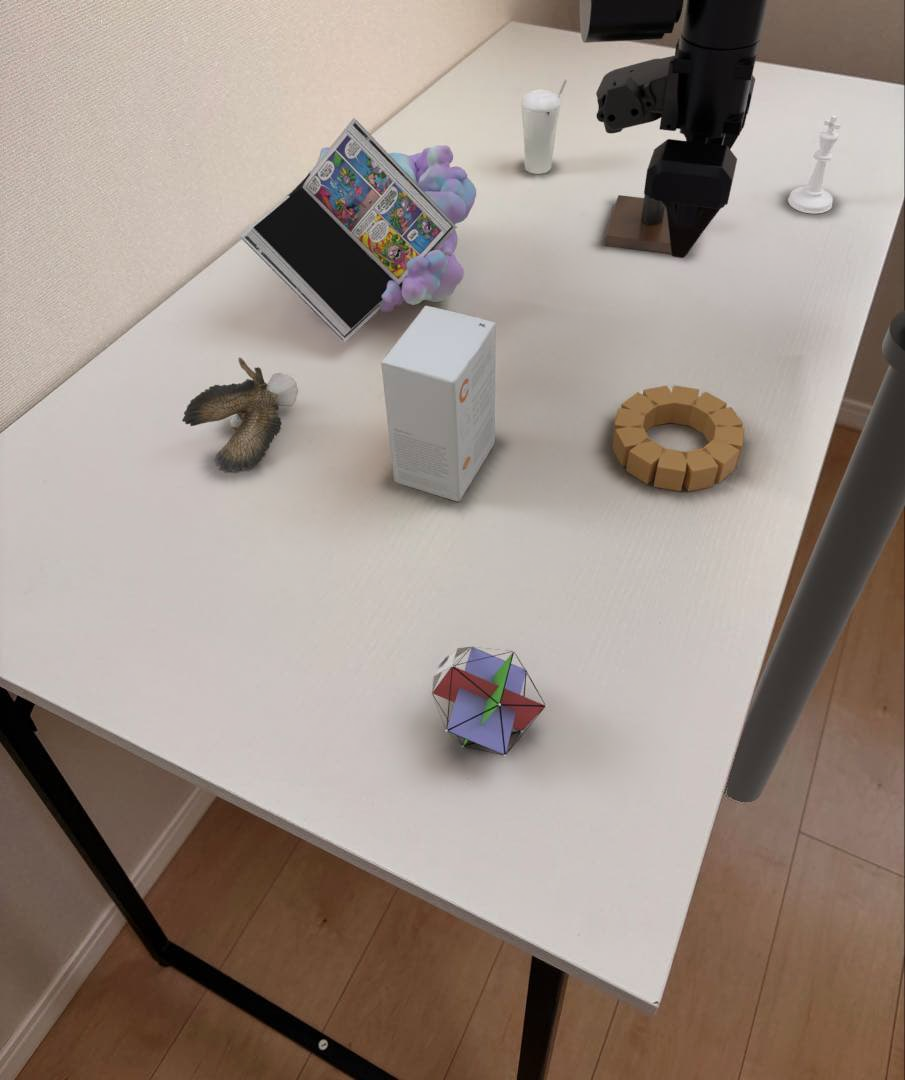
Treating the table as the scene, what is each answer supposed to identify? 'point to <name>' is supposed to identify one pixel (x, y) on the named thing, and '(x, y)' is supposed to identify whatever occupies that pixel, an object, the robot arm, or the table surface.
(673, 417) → the segmented wooden ring
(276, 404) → the eagle figurine
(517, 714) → the geometric puzzle
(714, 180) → the robot arm
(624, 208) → the dark wooden peg stand
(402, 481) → the small box
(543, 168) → the milkshake
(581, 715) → the table surface
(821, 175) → the chess piece
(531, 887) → the table surface
